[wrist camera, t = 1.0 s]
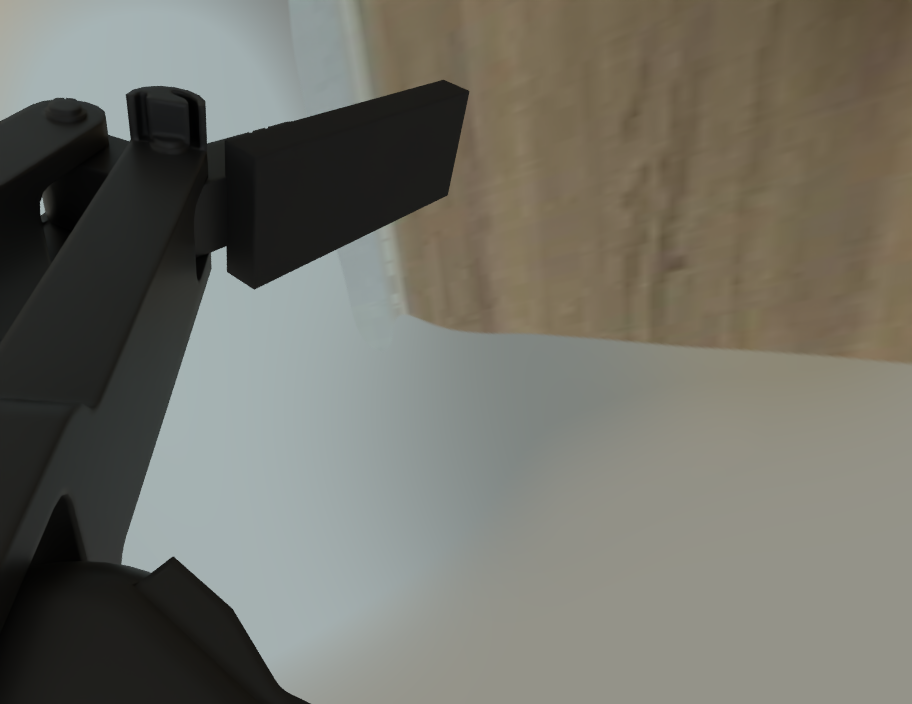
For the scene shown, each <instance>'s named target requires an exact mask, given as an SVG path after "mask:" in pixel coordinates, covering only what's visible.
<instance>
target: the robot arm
mask: <svg viewBox="0 0 912 704" xmlns="http://www.w3.org/2000/svg"><path fill="white" fill-rule="evenodd" d="M468 95H469V91H468V90H466V89H463V88H461V87H459V86H457V85H454V84H452V83H450V82H448V81H445V80H441V81H438V82H434V83H430V84H427V85H423V86H419V87H416V88H412V89H408V90H405V91H401V92H398V93H394V94H390V95H387V96H383V97H379V98H376V99H372V100H369V101H365V102H361V103H358V104H354V105H350V106H347V107H343V108H339V109H336V110H332V111H329V112H325V113H321V114H318V115H314V116H310V117H307V118H303V119H299V120H296V121H291V122H284V123H281V124H277V125H274V126H270V127H268V128H267V129H265V128H263V129H259V130H255V131H253V132H252V133H249V132H248V133H244V134H241V135H237V136H233V137H230V138H226V139H223V140H219V141H215V142H211V143H208V144H207V134H206V108H205V100H203V99H202V98H201V97H200V96H199V95H197V94H195V93H193V92H190V91H188V90H183V89H179V88H175V87H165V86H151V87H142V88H138V89H134V90H132V91H131V92H129V93H128V94H126V100H127V109H128V118H129V126H130V136H131V140H130V142H129V141H126V140H123V139H120V138H116V137H113V136H110V135H108V131H107V124H106V116H105V112H104V111H103V110H102V109H101V108H99V107H98V106H95V105H93V104H90V103H87V102H82V101H77V100H76V99H72V98H66V99H64V98H55V99H54V100H49V101H42V102H39V103H36V104H33V105H31V106H29V107H27V108H25V109H23V110H21V111H19V112H17V113H15V114H13V115H11V116H10V117H8V118H6V119H4V120H2V121H0V704H310V703H308V702H306V701H304V700H302V699H300V698H298V697H296V696H293V695H291V694H290V693H288V692H286V691H285V690H284V689H282V688H281V687H280V686H279V685H278V683H277V682H276V680H275V679H274V677H273V675H272V674H271V672H270V671H269V669H268V667H267V665H266V664H265V662H264V661H263V659H262V657H261V655H260V654H259V652H258V650H257V649H256V647H255V645H254V644H253V642H252V640H251V639H250V637H249V636H248V634H247V632H246V630H245V629H244V627H243V625H242V624H241V622H240V621H239V619H238V617H237V615H236V614H235V612H234V610H233V609H232V608H231V607H230V606H229V605H228V604H226V603H225V602H224V601H223V600H222V599H221V598H220V597H219V596H217V595H216V594H215V593H214V592H213V591H212V590H211V589H210V588H208V587H207V586H206V585H205V584H204V583H203V582H202V581H200V580H199V579H198V578H197V577H196V576H195V575H194V574H193V573H191V572H190V571H189V570H188V569H187V568H186V567H185V566H184V565H182V564H181V563H180V562H179V561H178V560H177V559H176V558H175V557H172V558H170V559H169V560H168V561H166V562H165V563H164V564H163V565H161V566H160V567H159V568H157V569H156V570H155V571H153V572H152V573H150V572H147V571H144V570H140V569H137V568H134V567H130V566H126V565H121V561H122V553H123V547H124V543H125V539H126V535H127V532H128V529H129V526H130V522H131V519H132V516H133V513H134V510H135V507H136V504H137V501H138V498H139V494H140V491H141V488H142V485H143V482H144V479H145V475H146V472H147V469H148V466H149V463H150V460H151V457H152V453H153V450H154V447H155V444H156V441H157V438H158V435H159V431H160V428H161V425H162V422H163V419H164V416H165V413H166V410H167V407H168V403H169V400H170V397H171V394H172V390H173V388H174V385H175V381H176V378H177V375H178V372H179V369H180V366H181V362H182V359H183V356H184V353H185V350H186V347H187V343H188V341H189V337H190V334H191V331H192V328H193V325H194V321H195V318H196V315H197V312H198V309H199V306H200V303H201V300H202V296H203V293H204V290H205V287H206V284H207V281H208V277H209V275H210V271H211V252H213V251H215V250H218V249H220V248H223V247H225V246H227V272H228V273H230V274H231V275H233V276H234V277H236V278H237V279H239V280H240V281H242V282H243V283H245V284H247V285H248V286H250V287H251V288H253V289H256V288H258V287H260V286H262V285H264V284H267V283H269V282H271V281H273V280H275V279H277V278H279V277H281V276H283V275H285V274H287V273H289V272H291V271H293V270H295V269H297V268H299V267H301V266H303V265H305V264H308V263H310V262H311V261H314V260H316V259H318V258H320V257H322V256H324V255H326V254H328V253H330V252H332V251H334V250H336V249H338V248H340V247H342V246H344V245H347V244H349V243H351V242H353V241H355V240H357V239H359V238H361V237H363V236H365V235H367V234H369V233H371V232H373V231H375V230H377V229H379V228H381V227H383V226H385V225H388V224H390V223H392V222H394V221H396V220H398V219H400V218H402V217H404V216H406V215H408V214H410V213H412V212H414V211H416V210H418V209H420V208H422V207H424V206H427V205H429V204H431V203H433V202H435V201H437V200H439V199H441V198H443V197H445V196H447V195H448V191H449V186H450V182H451V177H452V172H453V167H454V162H455V158H456V153H457V148H458V143H459V139H460V134H461V129H462V124H463V119H464V115H465V110H466V105H467V100H468ZM41 198H43V203H44V207H45V213H44V214H43V215H40V201H41Z"/></svg>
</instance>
